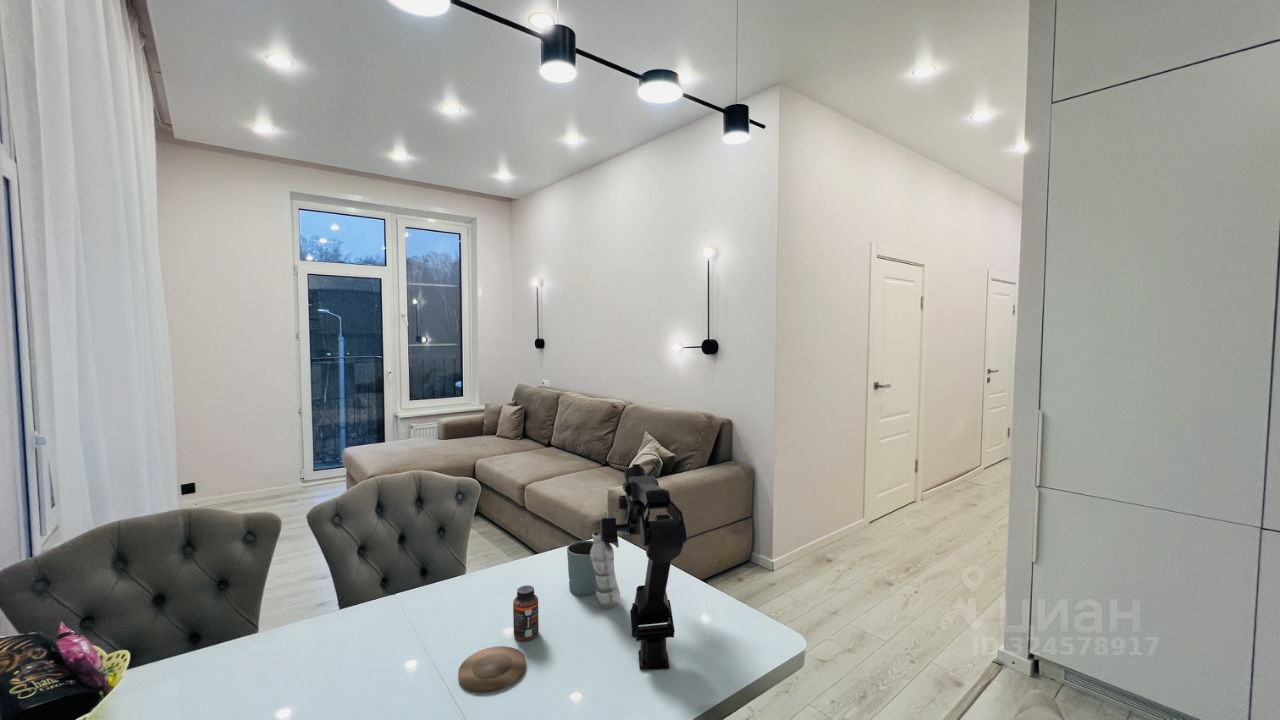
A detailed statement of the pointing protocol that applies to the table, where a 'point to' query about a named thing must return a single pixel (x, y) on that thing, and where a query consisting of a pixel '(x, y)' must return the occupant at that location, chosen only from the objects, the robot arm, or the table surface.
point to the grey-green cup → (581, 568)
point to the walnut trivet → (492, 669)
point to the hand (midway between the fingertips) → (633, 544)
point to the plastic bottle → (604, 572)
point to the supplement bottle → (525, 613)
